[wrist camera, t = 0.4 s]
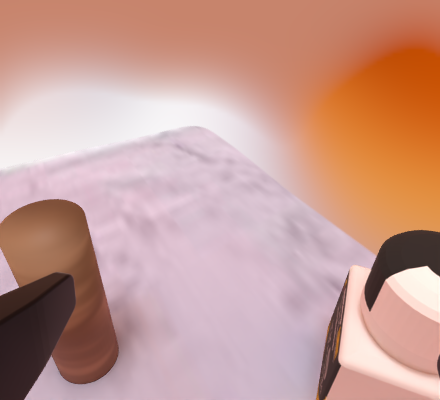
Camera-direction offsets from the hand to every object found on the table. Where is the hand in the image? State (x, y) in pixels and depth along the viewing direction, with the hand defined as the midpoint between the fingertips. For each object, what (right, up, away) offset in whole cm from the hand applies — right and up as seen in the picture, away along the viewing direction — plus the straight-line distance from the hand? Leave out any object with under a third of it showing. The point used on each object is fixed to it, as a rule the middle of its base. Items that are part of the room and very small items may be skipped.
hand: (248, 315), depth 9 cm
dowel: (-10, -8, +16) cm, 21 cm away
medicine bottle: (+10, -10, +15) cm, 20 cm away
